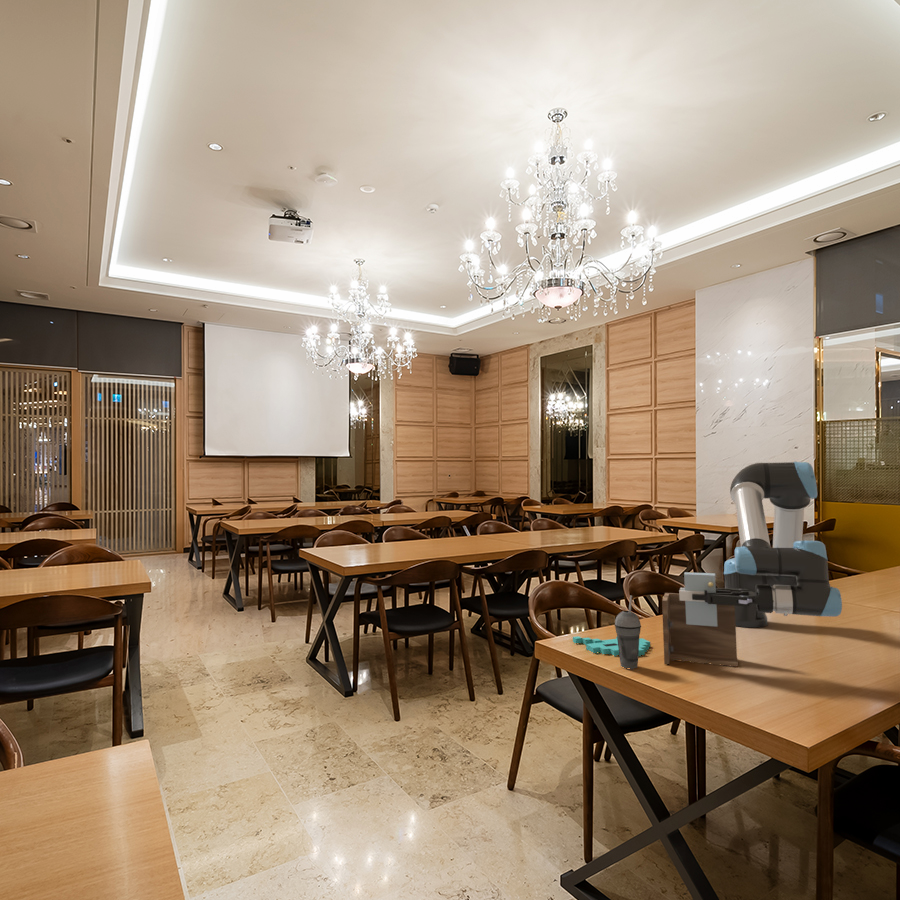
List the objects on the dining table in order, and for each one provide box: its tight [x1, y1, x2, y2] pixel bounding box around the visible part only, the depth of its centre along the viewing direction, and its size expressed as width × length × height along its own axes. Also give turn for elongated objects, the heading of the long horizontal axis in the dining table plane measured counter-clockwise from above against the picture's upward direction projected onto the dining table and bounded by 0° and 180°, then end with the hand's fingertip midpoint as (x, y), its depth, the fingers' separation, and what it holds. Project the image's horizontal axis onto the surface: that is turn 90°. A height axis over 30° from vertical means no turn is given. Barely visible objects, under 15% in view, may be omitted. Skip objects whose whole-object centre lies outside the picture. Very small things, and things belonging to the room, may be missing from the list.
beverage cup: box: [614, 595, 642, 670], centre depth 166 cm, size 7×7×20 cm
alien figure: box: [572, 636, 652, 657], centre depth 184 cm, size 20×2×20 cm
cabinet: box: [661, 592, 739, 667], centre depth 169 cm, size 12×19×18 cm, turn 66°
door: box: [683, 571, 717, 626], centre depth 165 cm, size 5×8×14 cm, turn 66°
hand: (679, 594), depth 168 cm, fingers closed on door, 3 cm apart
